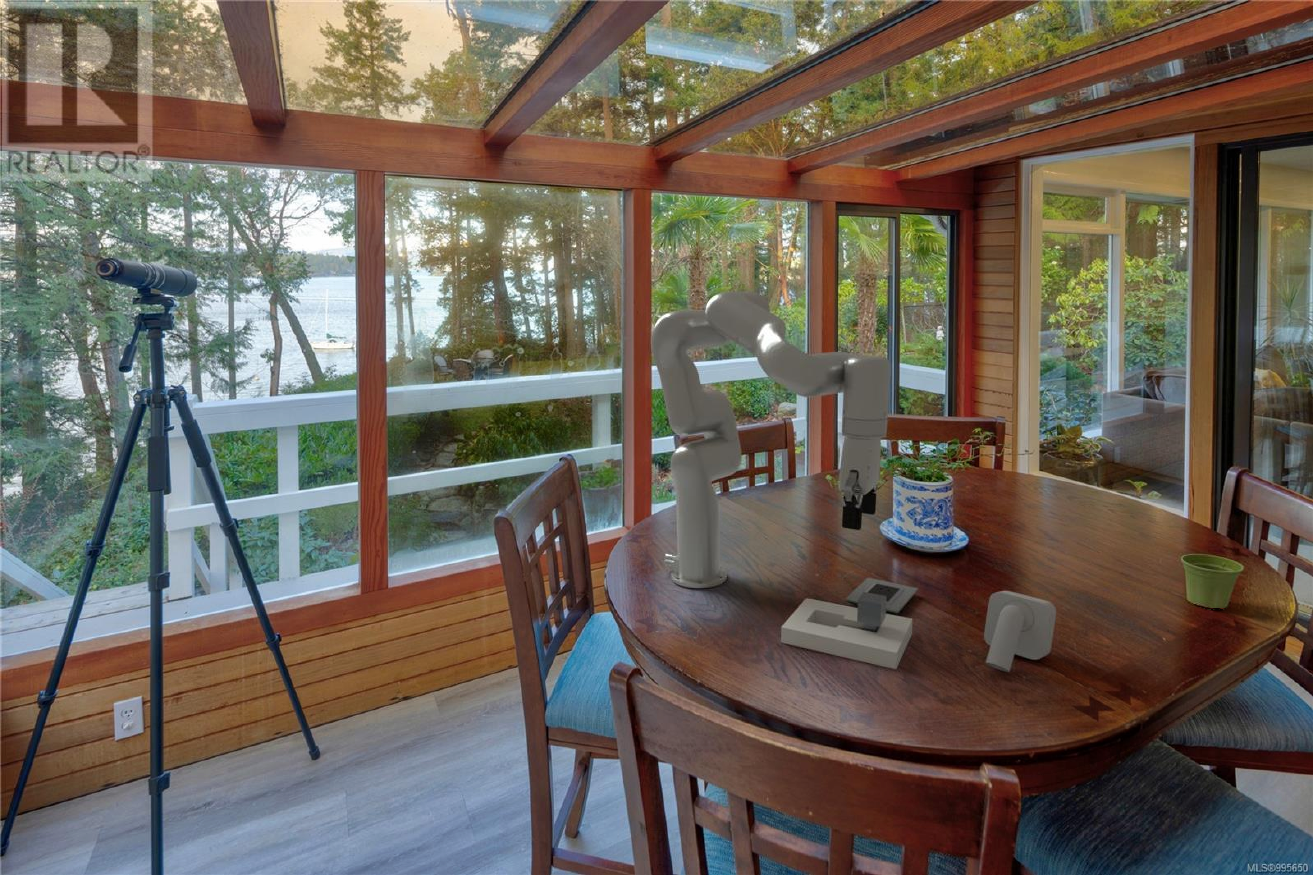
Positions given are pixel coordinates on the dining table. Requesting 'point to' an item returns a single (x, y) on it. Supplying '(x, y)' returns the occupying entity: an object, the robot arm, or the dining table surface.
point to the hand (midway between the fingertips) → (859, 520)
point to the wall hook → (1017, 628)
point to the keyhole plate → (846, 633)
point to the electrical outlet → (884, 593)
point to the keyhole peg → (871, 611)
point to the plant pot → (1210, 579)
